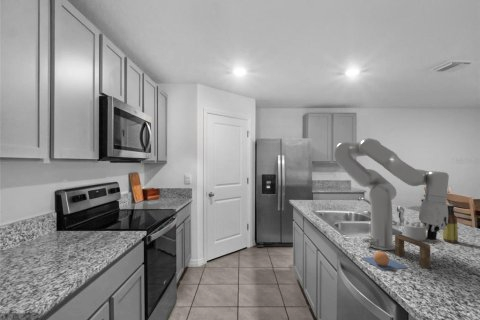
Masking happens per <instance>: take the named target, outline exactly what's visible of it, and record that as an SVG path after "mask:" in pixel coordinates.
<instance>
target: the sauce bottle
mask: <svg viewBox="0 0 480 320" xmlns="http://www.w3.org/2000/svg"><path fill="white" fill-rule="evenodd" d="M446 204H447V203H446ZM447 206H448V224H447V226H446V230H441V231H442V240H443V241H444V242H446V243H450V244H451V243H452V244H457V243H458V242H459V241H458V240H459V231H458V218H457V216H456V215H455V212H454V211H455V210H454V208H455V205H454V204H449V203H448V204H447Z"/></svg>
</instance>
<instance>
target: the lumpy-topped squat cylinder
mask: <svg viewBox="0 0 480 320" xmlns="http://www.w3.org/2000/svg"><path fill="white" fill-rule="evenodd" d="M403 235H404V236H407V237H409V238H412V239H415V240H418V241H425V240H427V229H426V226H425V224H423V223H421V221H418V220H417V221H416V220H404V222H403Z"/></svg>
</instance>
